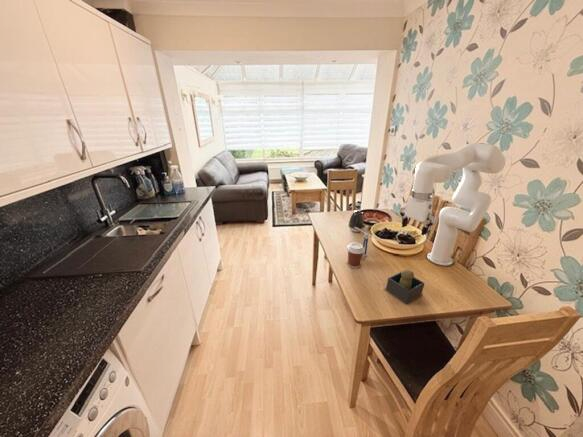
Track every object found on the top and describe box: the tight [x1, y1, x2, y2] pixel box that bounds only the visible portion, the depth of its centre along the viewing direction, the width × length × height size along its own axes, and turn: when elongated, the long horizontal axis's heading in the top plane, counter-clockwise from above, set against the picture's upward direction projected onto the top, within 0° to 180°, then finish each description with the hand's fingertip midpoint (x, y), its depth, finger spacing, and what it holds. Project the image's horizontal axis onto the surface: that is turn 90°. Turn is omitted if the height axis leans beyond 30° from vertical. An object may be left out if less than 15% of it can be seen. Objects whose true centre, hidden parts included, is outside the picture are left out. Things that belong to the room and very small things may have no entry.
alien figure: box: [355, 225, 380, 259], centre depth 136 cm, size 20×5×19 cm, turn 30°
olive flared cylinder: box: [399, 268, 415, 290], centre depth 108 cm, size 6×6×11 cm
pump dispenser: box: [348, 210, 366, 233], centre depth 167 cm, size 10×10×15 cm
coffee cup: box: [346, 241, 365, 269], centre depth 129 cm, size 9×9×12 cm
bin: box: [385, 270, 425, 305], centre depth 110 cm, size 11×11×7 cm
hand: (413, 230), depth 110 cm, fingers open, 9 cm apart
